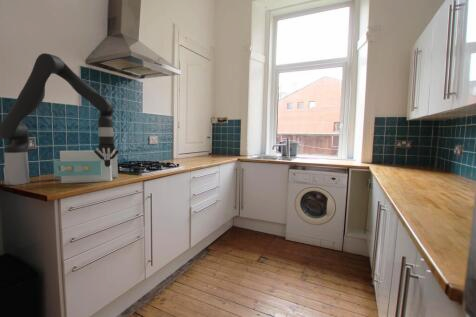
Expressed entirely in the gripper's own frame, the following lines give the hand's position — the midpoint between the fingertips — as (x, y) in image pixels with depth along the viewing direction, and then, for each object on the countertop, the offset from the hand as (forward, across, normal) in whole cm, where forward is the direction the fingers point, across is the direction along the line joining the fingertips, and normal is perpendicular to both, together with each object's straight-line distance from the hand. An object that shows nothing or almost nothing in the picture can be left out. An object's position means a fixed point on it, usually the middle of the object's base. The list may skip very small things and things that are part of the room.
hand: (107, 166), depth 135 cm
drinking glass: (+9, -28, +20) cm, 35 cm away
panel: (+4, -14, 0) cm, 15 cm away
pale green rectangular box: (+9, -12, +5) cm, 16 cm away
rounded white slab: (+10, -7, +28) cm, 31 cm away
